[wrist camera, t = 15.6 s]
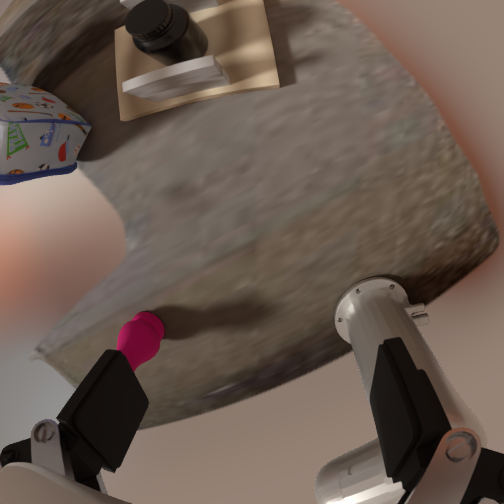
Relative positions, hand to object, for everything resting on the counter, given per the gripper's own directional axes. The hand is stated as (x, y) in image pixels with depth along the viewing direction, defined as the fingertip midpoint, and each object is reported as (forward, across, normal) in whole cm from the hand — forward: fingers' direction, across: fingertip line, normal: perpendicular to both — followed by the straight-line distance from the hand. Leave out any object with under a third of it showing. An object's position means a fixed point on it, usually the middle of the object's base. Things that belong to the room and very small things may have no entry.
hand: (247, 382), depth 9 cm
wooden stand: (+30, +8, -24) cm, 39 cm away
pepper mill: (+31, +24, +18) cm, 43 cm away
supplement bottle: (+28, +8, -24) cm, 38 cm away
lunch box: (+31, +36, -22) cm, 52 cm away
